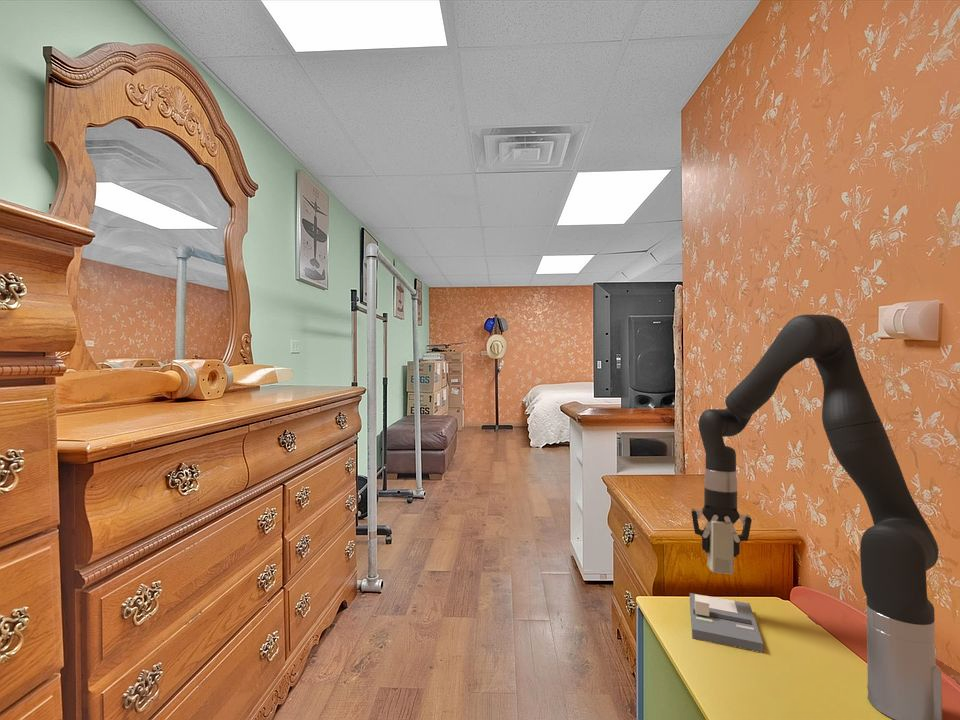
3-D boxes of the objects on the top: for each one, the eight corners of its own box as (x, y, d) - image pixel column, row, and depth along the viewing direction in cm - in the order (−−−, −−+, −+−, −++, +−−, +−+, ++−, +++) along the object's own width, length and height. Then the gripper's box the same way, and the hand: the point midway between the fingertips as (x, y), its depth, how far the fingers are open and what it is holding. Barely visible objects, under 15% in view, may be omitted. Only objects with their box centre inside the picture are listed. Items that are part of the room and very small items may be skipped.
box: (727, 567, 121) (728, 518, 121) (733, 575, 117) (735, 523, 117) (705, 565, 122) (707, 516, 122) (711, 573, 118) (712, 521, 118)
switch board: (749, 611, 120) (749, 602, 120) (763, 653, 101) (763, 642, 102) (689, 600, 125) (689, 592, 125) (692, 638, 107) (692, 628, 107)
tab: (708, 608, 116) (708, 596, 116) (709, 616, 112) (709, 603, 112) (694, 606, 117) (694, 594, 117) (695, 613, 113) (695, 601, 113)
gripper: (690, 487, 119) (690, 554, 119) (755, 493, 114) (755, 564, 113) (689, 481, 126) (689, 545, 126) (750, 487, 121) (750, 553, 120)
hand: (720, 553), depth 119 cm, fingers closed on box, 5 cm apart
